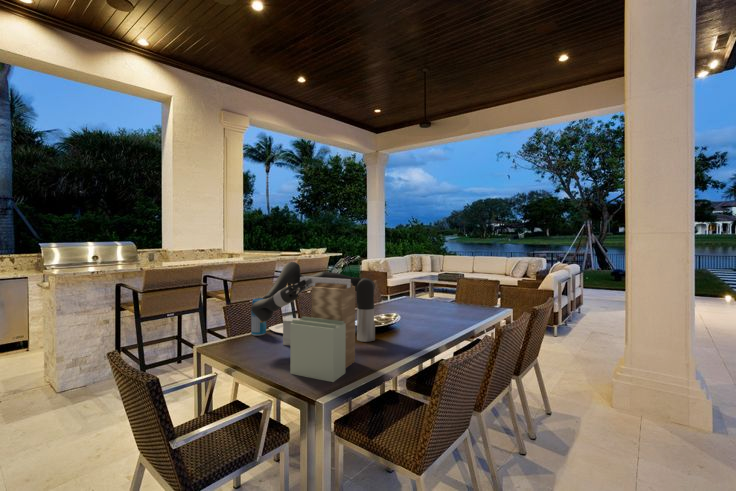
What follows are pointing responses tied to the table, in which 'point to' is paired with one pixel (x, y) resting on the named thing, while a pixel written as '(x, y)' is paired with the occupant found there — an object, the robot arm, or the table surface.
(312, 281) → the steel bar
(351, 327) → the oak stand
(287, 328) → the supplement box
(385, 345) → the table surface
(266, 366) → the table surface
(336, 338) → the sage dock
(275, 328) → the plate
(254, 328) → the beverage bottle
